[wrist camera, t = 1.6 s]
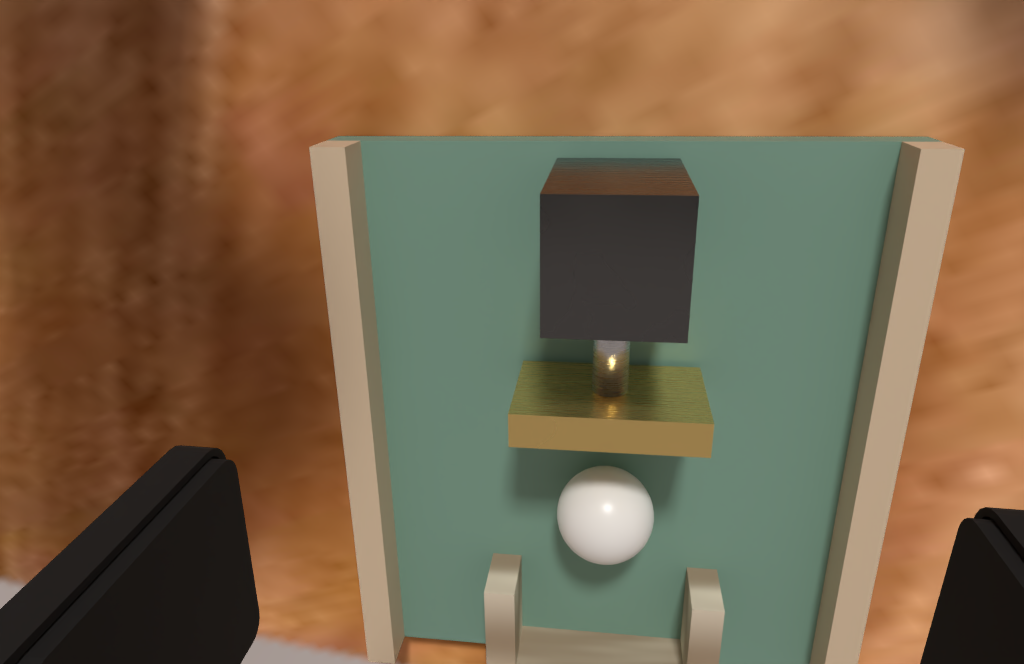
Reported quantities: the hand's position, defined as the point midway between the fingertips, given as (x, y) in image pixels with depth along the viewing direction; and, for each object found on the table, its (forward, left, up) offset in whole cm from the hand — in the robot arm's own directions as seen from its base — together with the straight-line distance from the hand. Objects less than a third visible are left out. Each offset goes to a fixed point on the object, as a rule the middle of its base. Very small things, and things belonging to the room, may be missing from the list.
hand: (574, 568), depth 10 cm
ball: (+10, +1, -16) cm, 19 cm away
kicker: (+2, 0, -17) cm, 17 cm away
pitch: (+8, +1, -18) cm, 20 cm away
